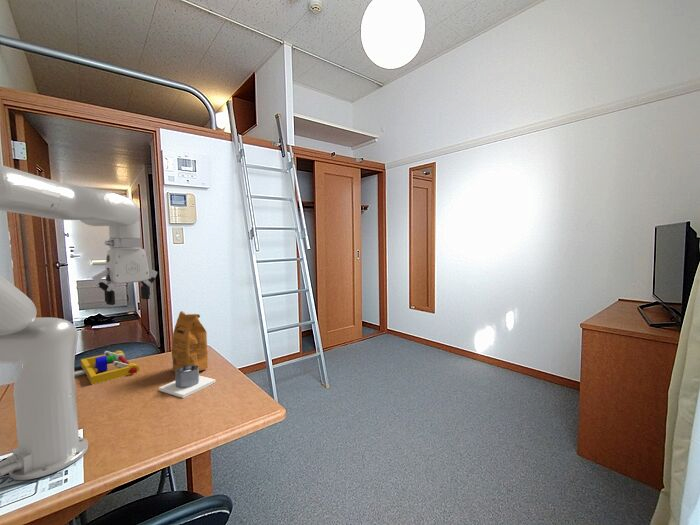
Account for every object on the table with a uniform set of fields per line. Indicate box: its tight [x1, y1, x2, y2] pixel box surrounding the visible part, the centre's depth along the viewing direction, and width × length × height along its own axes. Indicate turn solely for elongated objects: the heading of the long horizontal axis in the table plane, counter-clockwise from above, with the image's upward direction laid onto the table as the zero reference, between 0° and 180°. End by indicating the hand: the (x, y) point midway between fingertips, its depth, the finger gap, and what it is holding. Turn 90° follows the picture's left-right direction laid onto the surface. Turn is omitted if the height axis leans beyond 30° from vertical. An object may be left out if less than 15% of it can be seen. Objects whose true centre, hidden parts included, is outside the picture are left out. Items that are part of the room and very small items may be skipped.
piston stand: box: [158, 370, 216, 399], centre depth 104 cm, size 12×12×5 cm
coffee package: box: [171, 311, 209, 373], centre depth 117 cm, size 10×12×22 cm
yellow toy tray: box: [74, 350, 140, 385], centre depth 119 cm, size 18×6×30 cm
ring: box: [174, 365, 200, 388], centre depth 104 cm, size 7×7×5 cm
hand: (128, 301), depth 94 cm, fingers open, 9 cm apart
